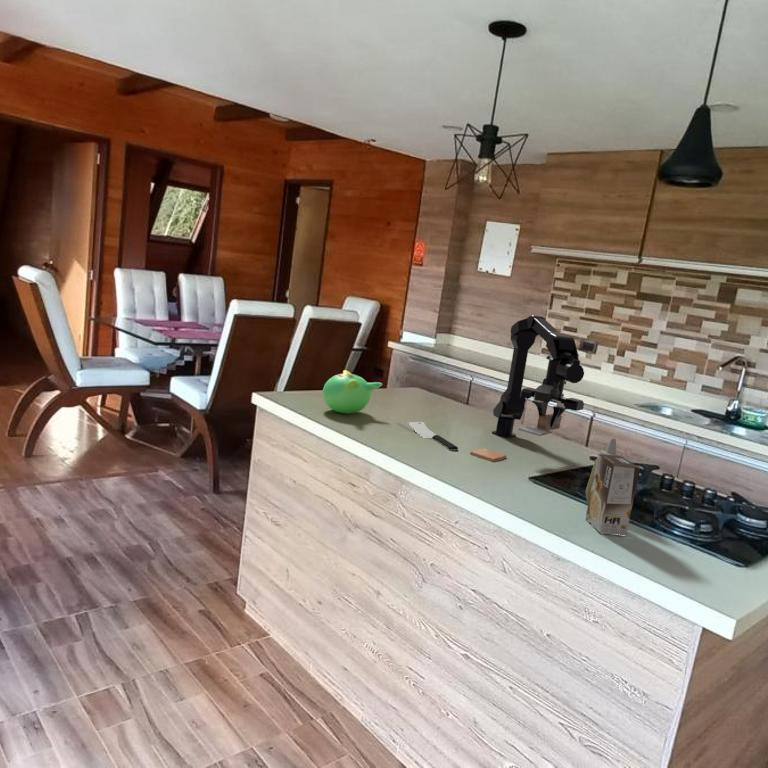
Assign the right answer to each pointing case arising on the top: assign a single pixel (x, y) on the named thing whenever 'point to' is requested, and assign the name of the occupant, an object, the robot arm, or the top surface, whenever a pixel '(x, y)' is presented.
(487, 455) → the tile
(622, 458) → the coffee box
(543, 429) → the turner
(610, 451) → the squeeze bottle
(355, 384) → the toy bird
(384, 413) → the top surface
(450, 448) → the kitchen cleaver
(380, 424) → the top surface
